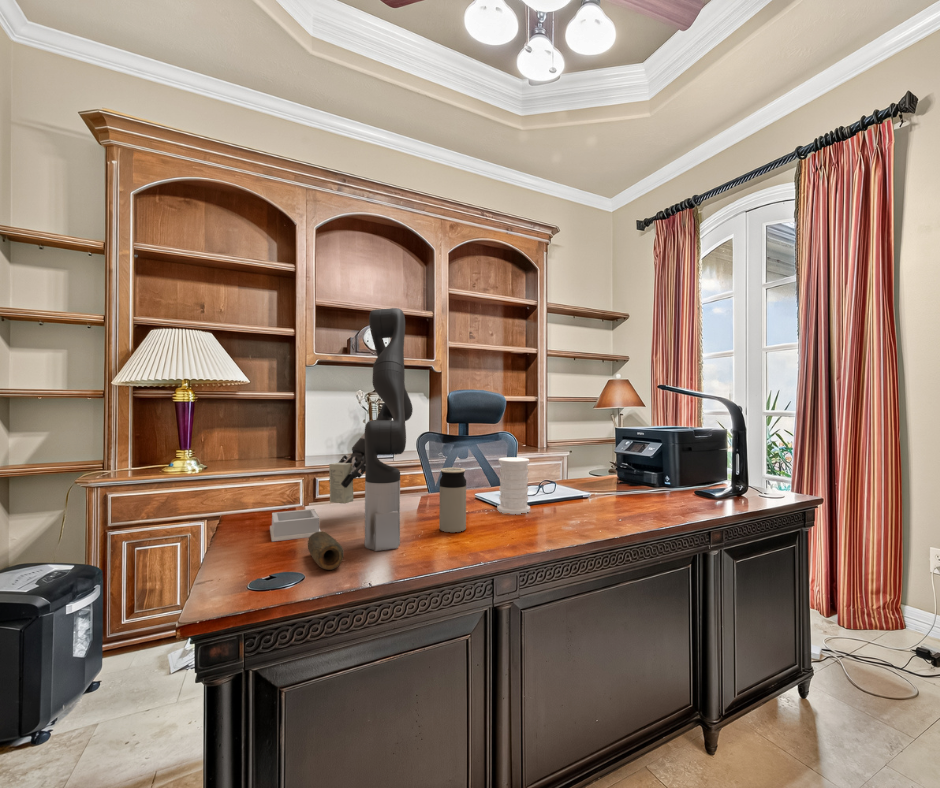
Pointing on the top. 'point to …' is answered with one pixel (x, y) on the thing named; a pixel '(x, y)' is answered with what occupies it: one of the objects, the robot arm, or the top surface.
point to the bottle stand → (294, 524)
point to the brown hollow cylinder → (325, 550)
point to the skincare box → (336, 477)
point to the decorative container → (513, 485)
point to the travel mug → (452, 500)
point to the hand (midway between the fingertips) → (337, 484)
